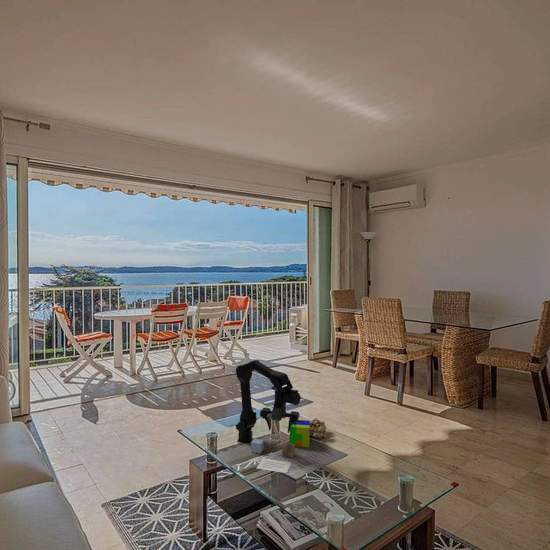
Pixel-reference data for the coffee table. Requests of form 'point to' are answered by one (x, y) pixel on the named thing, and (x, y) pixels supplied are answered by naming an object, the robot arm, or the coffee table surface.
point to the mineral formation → (317, 428)
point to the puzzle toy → (300, 433)
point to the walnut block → (288, 450)
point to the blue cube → (257, 446)
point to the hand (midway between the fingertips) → (279, 431)
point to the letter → (274, 465)
